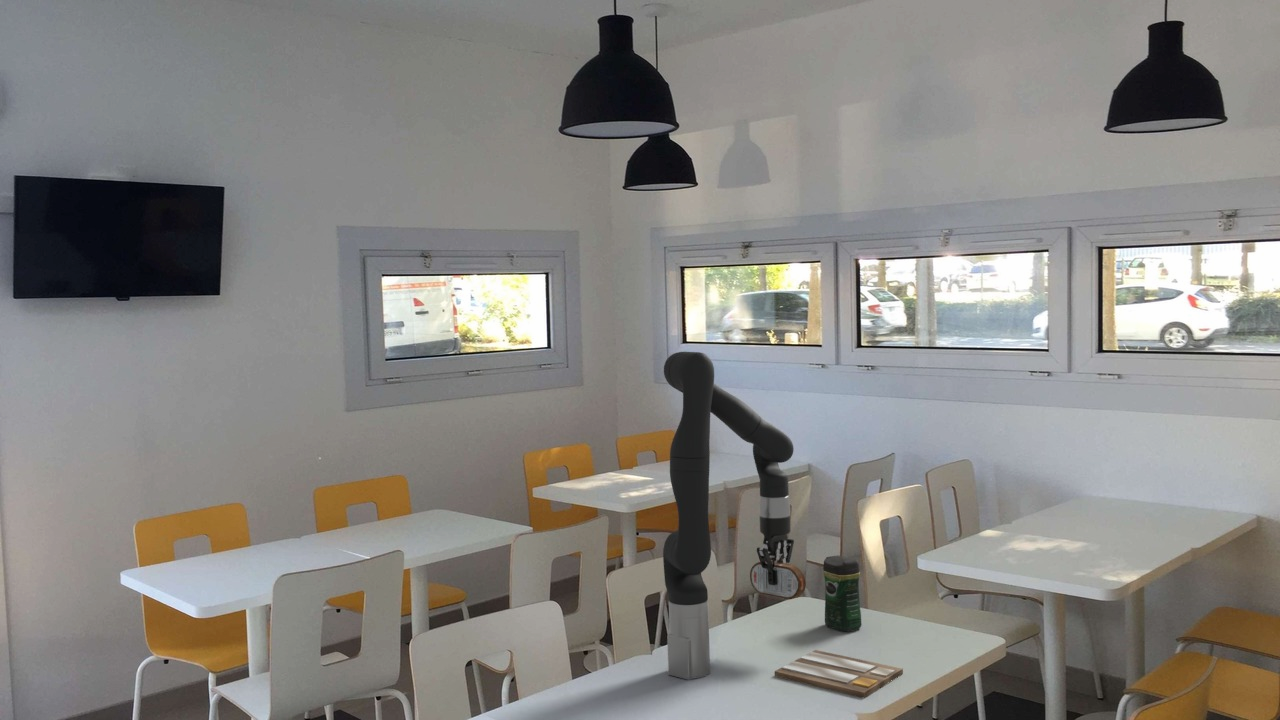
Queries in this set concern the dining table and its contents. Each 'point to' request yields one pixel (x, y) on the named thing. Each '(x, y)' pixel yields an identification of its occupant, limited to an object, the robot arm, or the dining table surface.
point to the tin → (779, 581)
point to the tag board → (839, 673)
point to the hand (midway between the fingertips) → (776, 582)
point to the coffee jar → (842, 593)
